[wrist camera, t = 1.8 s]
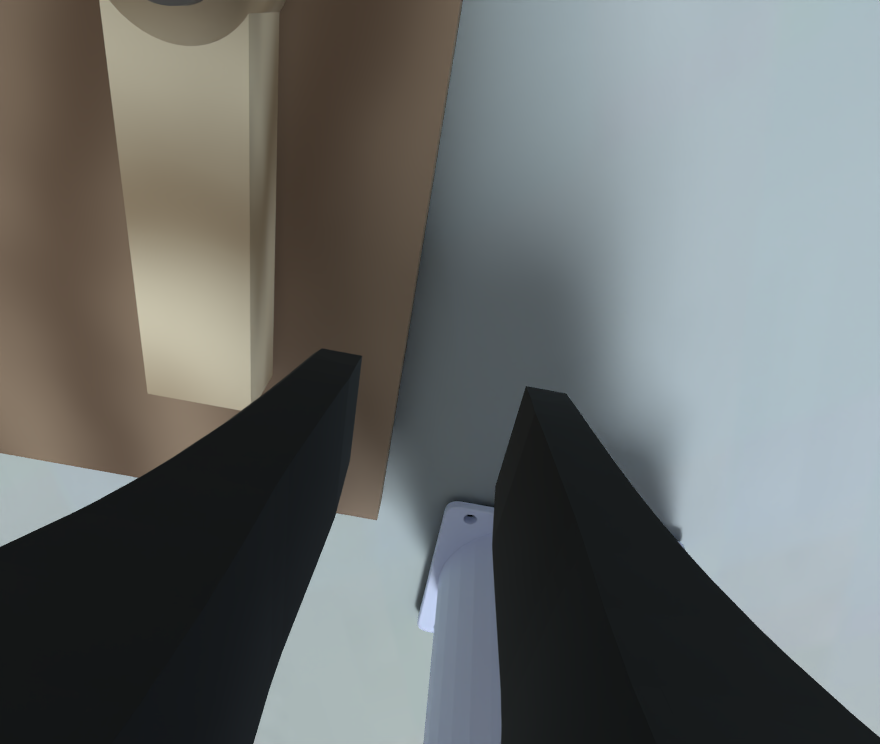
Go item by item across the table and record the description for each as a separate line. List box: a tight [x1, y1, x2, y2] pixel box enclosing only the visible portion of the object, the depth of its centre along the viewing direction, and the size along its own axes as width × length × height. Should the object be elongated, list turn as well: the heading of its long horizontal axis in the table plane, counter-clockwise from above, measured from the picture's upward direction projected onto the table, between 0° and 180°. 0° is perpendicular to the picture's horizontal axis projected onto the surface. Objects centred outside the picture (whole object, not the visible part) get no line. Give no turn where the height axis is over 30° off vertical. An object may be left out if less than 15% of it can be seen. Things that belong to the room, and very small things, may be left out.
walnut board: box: [0, 0, 463, 520], centre depth 17 cm, size 19×19×1 cm
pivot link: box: [99, 0, 286, 411], centre depth 14 cm, size 13×4×3 cm, turn 170°
